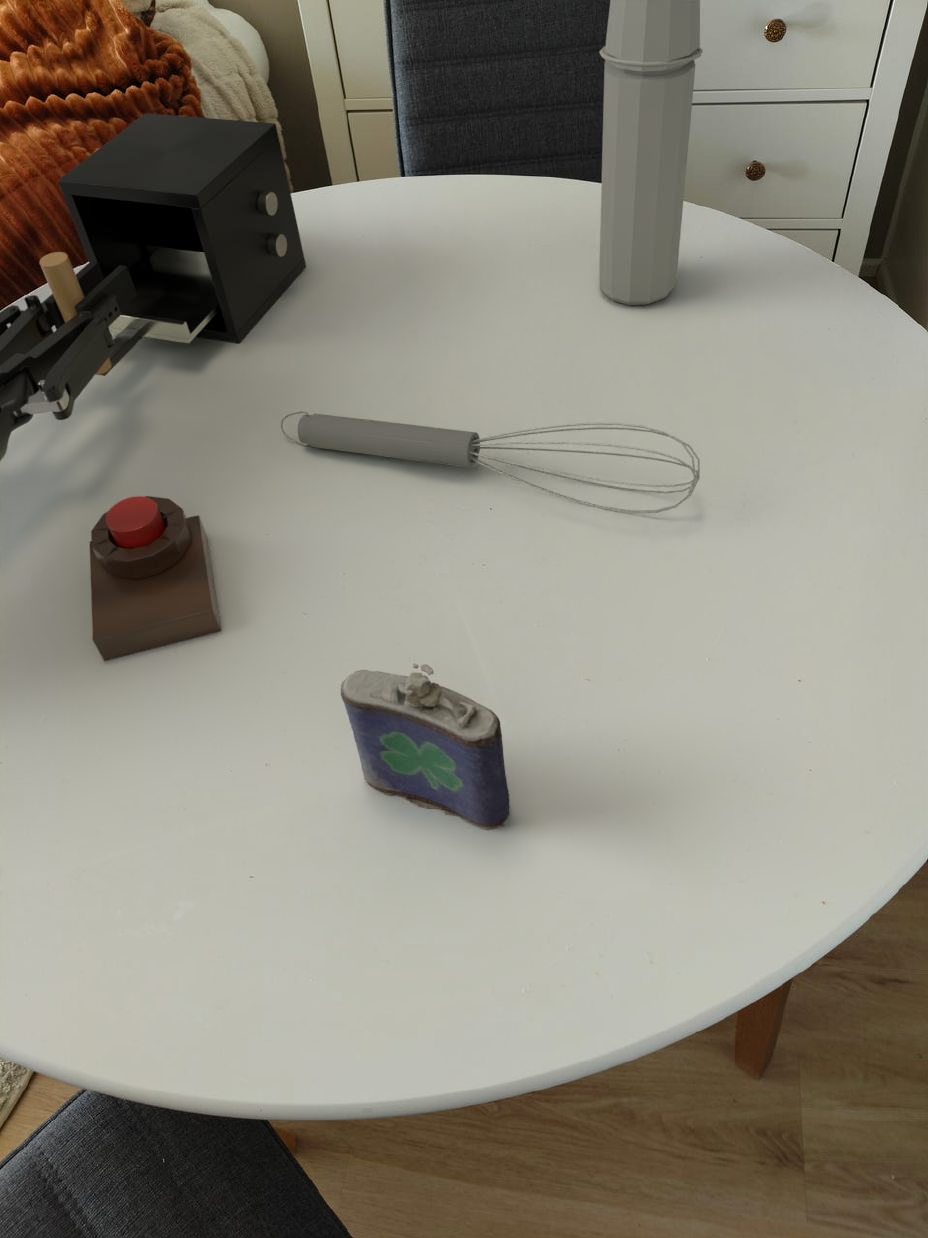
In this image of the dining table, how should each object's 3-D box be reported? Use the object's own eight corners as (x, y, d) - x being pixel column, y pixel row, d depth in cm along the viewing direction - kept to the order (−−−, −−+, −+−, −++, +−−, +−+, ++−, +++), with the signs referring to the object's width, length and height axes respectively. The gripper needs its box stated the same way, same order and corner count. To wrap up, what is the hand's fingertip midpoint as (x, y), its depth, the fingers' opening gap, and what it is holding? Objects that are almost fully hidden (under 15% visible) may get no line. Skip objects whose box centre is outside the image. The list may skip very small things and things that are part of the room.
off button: (113, 521, 71) (104, 503, 70) (163, 509, 71) (155, 490, 70) (115, 555, 69) (106, 536, 67) (166, 542, 69) (159, 523, 68)
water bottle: (672, 314, 89) (699, 0, 70) (586, 305, 91) (591, -2, 72) (689, 261, 95) (719, -42, 76) (608, 254, 97) (617, -43, 78)
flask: (357, 785, 59) (324, 673, 51) (380, 747, 61) (352, 632, 53) (500, 838, 56) (489, 727, 48) (520, 796, 57) (513, 682, 49)
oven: (113, 324, 96) (56, 180, 85) (187, 251, 104) (145, 112, 93) (248, 344, 91) (207, 195, 81) (315, 267, 100) (285, 123, 89)
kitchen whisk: (300, 415, 83) (284, 351, 79) (703, 488, 74) (713, 420, 69) (266, 461, 80) (247, 396, 75) (685, 544, 70) (694, 476, 65)
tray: (39, 369, 86) (-13, 257, 78) (154, 261, 97) (118, 154, 89) (148, 388, 83) (105, 273, 75) (254, 274, 94) (226, 164, 86)
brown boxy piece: (99, 551, 74) (79, 511, 71) (205, 525, 75) (190, 485, 72) (104, 661, 67) (82, 622, 64) (221, 631, 68) (205, 591, 65)
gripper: (-127, 472, 75) (57, 307, 89) (37, 508, 71) (203, 328, 85) (-183, 390, 69) (23, 227, 84) (-8, 423, 65) (178, 245, 79)
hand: (113, 278), depth 84 cm, fingers closed on tray, 2 cm apart
